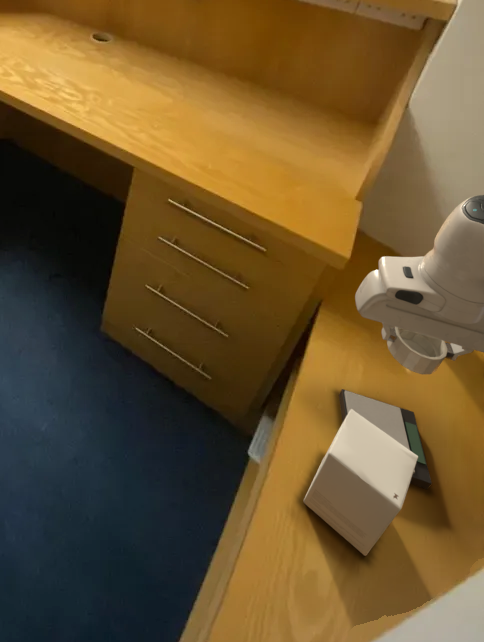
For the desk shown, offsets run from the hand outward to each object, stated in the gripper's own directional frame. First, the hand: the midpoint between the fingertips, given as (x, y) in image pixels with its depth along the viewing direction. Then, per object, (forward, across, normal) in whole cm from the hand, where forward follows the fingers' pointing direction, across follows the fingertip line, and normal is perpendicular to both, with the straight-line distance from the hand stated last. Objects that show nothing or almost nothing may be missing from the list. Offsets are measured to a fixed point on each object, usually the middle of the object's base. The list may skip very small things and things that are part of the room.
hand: (416, 346), depth 81 cm
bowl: (+3, 0, 0) cm, 3 cm away
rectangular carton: (+18, +8, +18) cm, 27 cm away
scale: (+17, +1, +6) cm, 18 cm away
